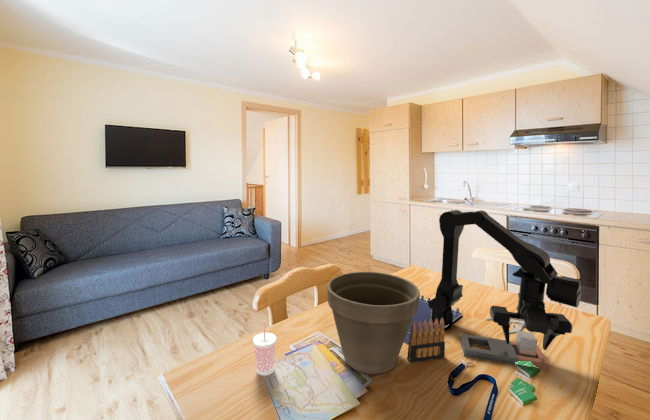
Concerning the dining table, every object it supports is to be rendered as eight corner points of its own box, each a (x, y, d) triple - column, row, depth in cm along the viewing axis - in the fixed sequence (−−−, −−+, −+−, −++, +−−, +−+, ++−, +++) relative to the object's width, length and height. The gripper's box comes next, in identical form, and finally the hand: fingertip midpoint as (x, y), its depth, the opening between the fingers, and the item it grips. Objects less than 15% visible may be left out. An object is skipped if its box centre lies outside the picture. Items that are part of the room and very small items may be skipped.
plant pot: (395, 331, 103) (397, 268, 100) (433, 382, 79) (438, 301, 76) (320, 337, 99) (320, 272, 95) (336, 394, 74) (337, 309, 71)
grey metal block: (518, 360, 88) (520, 337, 87) (514, 352, 91) (516, 330, 90) (534, 363, 87) (537, 340, 85) (530, 355, 90) (532, 332, 89)
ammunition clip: (441, 354, 90) (443, 315, 89) (444, 358, 89) (447, 318, 87) (407, 358, 88) (409, 319, 86) (410, 362, 86) (412, 322, 85)
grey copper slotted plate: (463, 356, 90) (464, 349, 89) (460, 339, 98) (460, 333, 98) (548, 370, 83) (549, 363, 83) (537, 351, 92) (537, 345, 92)
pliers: (485, 315, 111) (523, 313, 113) (485, 319, 111) (523, 317, 113) (504, 330, 101) (546, 327, 103) (504, 334, 102) (545, 331, 103)
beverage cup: (256, 362, 86) (255, 315, 84) (278, 362, 86) (277, 315, 84) (251, 377, 80) (249, 326, 78) (274, 377, 80) (273, 327, 78)
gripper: (500, 302, 81) (495, 356, 84) (586, 312, 76) (577, 370, 78) (491, 286, 92) (487, 335, 94) (566, 294, 86) (559, 346, 89)
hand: (525, 346), depth 89 cm, fingers open, 9 cm apart
